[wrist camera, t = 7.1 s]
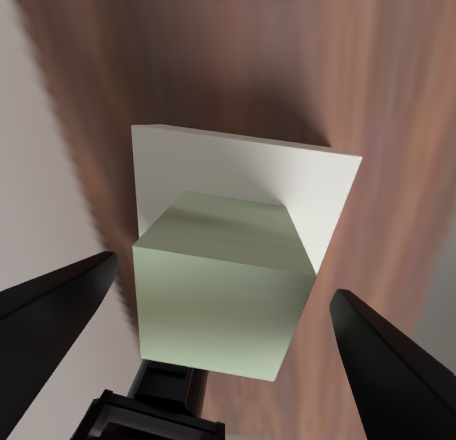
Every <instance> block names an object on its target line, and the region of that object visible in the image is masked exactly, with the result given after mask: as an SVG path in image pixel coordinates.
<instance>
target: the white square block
mask: <svg viewBox="0 0 456 440" xmlns="http://www.w3.org/2000/svg"><path fill="white" fill-rule="evenodd" d="M131 132H132V146H133V159H134V173H135V187H136V200H137V214H138V228H139V238H140V237H141V236H142V235H143V234H144V233H145V232H146V231H147V230H148V229H149V228H150V226H151V225H152V224H153V223H154V222H155V221H156V220H157V219H158V218H159V217H160V216H161V215H162V214H163V213H164V212H165V210H166V209H167V208H168V207H169V206H170V205H171V204H172V203H173V202H174V201H175V200H176V199H177V198H178V197H179V195H180V194H181V193H182V192H183V191H188V192H195V193H201V194H207V195H214V196H220V197H227V198H233V199H239V200H246V201H252V202H259V203H265V204H271V205H278V206H284V207H286V208H287V210H288V212H289V214H290V217H291V219H292V221H293V223H294V225H295V228H296V230H297V232H298V234H299V237H300V239H301V241H302V243H303V246H304V248H305V250H306V252H307V255H308V257H309V259H310V261H311V264H312V266H313V268H314V270H315V273H316V275H317V273H318V270H319V268H320V265H321V262H322V260H323V257H324V255H325V252H326V250H327V247H328V244H329V242H330V239H331V237H332V234H333V232H334V229H335V226H336V224H337V221H338V219H339V216H340V214H341V211H342V209H343V206H344V203H345V201H346V198H347V196H348V193H349V191H350V188H351V185H352V183H353V180H354V178H355V175H356V173H357V170H358V167H359V165H360V162H361V160H362V157H361V156H357V155H354V154H351V153H348V152H344V151H341V150H338V149H335V148H331V147H324V146H317V145H309V144H302V143H295V142H287V141H280V140H273V139H266V138H258V137H251V136H244V135H236V134H229V133H222V132H215V131H207V130H200V129H193V128H185V127H178V126H171V125H163V124H155V125H131Z"/></svg>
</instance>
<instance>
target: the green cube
mask: <svg viewBox="0 0 456 440" xmlns="http://www.w3.org/2000/svg"><path fill="white" fill-rule="evenodd" d="M132 248H133V261H134V273H135V286H136V299H137V312H138V325H139V337H140V350H141V358H142V359H148V360H154V361H159V362H165V363H171V364H176V365H182V366H188V367H194V368H199V369H205V370H211V371H216V372H222V373H228V374H233V375H239V376H245V377H250V378H256V379H262V380H268V381H273V382H274V381H275V378H276V376H277V373H278V371H279V368H280V366H281V363H282V361H283V359H284V356H285V354H286V351H287V349H288V346H289V344H290V341H291V339H292V336H293V334H294V332H295V329H296V327H297V324H298V322H299V319H300V317H301V314H302V312H303V309H304V307H305V304H306V302H307V300H308V297H309V295H310V292H311V290H312V287H313V285H314V282H315V280H316V277H317V275H316V273H315V270H314V268H313V266H312V264H311V261H310V259H309V257H308V255H307V252H306V250H305V248H304V246H303V243H302V241H301V239H300V237H299V234H298V232H297V230H296V228H295V225H294V223H293V221H292V219H291V217H290V214H289V212H288V210H287V208H286V207H284V206H278V205H271V204H265V203H259V202H252V201H246V200H239V199H233V198H227V197H220V196H214V195H207V194H201V193H195V192H188V191H183V192H182V193H181V194H180V195H179V197H178V198H177V199H176V200H175V201H174V202H173V203H172V204H171V205H170V206H169V207H168V208H167V209H166V210H165V212H164V213H163V214H162V215H161V216H160V217H159V218H158V219H157V220H156V221H155V222H154V223H153V224H152V225H151V226H150V228H149V229H148V230H147V231H146V232H145V233H144V234H143V235H142V236H141V237H140V238H139V239H138V240H137V241H136V243H135V244H134V245H133V246H132Z"/></svg>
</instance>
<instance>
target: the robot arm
mask: <svg viewBox="0 0 456 440" xmlns="http://www.w3.org/2000/svg"><path fill="white" fill-rule="evenodd" d="M118 270H119V268H118V260H117V254H116V253H115V252H109V251H104V252H101V253H99V254H97V255H94V256H91V257H89V258H86V259H83V260H81V261H78V262H76V263H73V264H70V265H68V266H65V267H63V268H60V269H57V270H55V271H52V272H50V273H47V274H45V275H42V276H39V277H37V278H34V279H32V280H29V281H26V282H24V283H21V284H19V285H16V286H13V287H11V288H8V289H6V290H3V291H1V292H0V440H6V439H7V437H8V436H9V435H10V433H11V432H12V430H13V429H14V427H15V426H16V425H17V423H18V422H19V420H20V419H21V418H22V416H23V415H24V413H25V412H26V410H27V409H28V408H29V406H30V405H31V403H32V402H33V400H34V399H35V398H36V396H37V395H38V393H39V392H40V390H41V389H42V388H43V386H44V385H45V383H46V382H47V380H48V379H49V378H50V376H51V375H52V373H53V372H54V370H55V369H56V368H57V366H58V365H59V363H60V362H61V360H62V359H63V358H64V356H65V355H66V353H67V352H68V351H69V349H70V348H71V346H72V345H73V343H74V342H75V341H76V339H77V338H78V336H79V335H80V333H81V332H82V331H83V329H84V328H85V326H86V325H87V323H88V322H89V321H90V319H91V318H92V316H93V315H94V313H95V312H96V310H97V309H98V307H99V306H100V304H101V302H102V301H103V299H104V297H105V295H106V293H107V292H108V290H109V288H110V286H111V285H112V283H113V281H114V279H115V277H116V276H117V274H118ZM330 313H331V317H332V322H333V327H334V332H335V336H336V341H337V345H338V349H339V352H340V356H341V359H342V362H343V365H344V368H345V371H346V374H347V377H348V381H349V384H350V387H351V390H352V393H353V396H354V399H355V402H356V405H357V409H358V412H359V415H360V418H361V421H362V424H363V427H364V430H365V434H366V437H367V440H456V376H454V374H453V372H451V371H450V370H449V369H447V368H446V367H445V366H444V365H443V364H441V363H440V362H439V361H437V360H436V359H435V358H434V357H432V356H431V355H430V354H429V353H427V352H426V351H425V350H423V349H422V348H421V347H420V346H419V345H417V344H416V343H415V342H414V341H412V340H411V339H410V338H409V337H407V336H406V335H405V334H404V333H402V332H401V331H400V330H399V329H397V328H396V327H395V326H394V325H392V324H391V323H390V322H388V321H387V320H386V319H385V318H383V317H382V316H381V315H380V314H378V313H377V312H376V311H375V310H373V309H372V308H371V307H370V306H368V305H367V304H366V303H365V302H363V301H362V300H361V299H360V298H358V297H357V296H356V295H355V294H353V293H352V292H351V291H349V290H346V289H337V290H336V292H335V294H334V296H333V298H332V300H331V302H330ZM208 371H209V370H205V369H199V368H194V367H188V366H182V365H176V364H171V363H165V362H159V361H154V360H148V359H143V361H142V363H141V365H140V367H139V370H138V372H137V374H136V377H135V379H134V381H133V383H132V386H131V388H130V390H129V392H128V395H127V397H125V396H121V395H118V394H114V393H113V391H110V390H107V389H105V390H104V392H103V393H102V395H101V397H100V398H98V399H94V400H93V402H92V403H91V405H90V407H89V409H88V410H87V412H86V414H85V416H84V418H83V419H82V421H81V423H80V424H79V426H78V428H77V429H76V431H75V433H74V434H73V435H72V437H71V438H70V440H225V423H221V422H218V421H217V422H216V423H215V422H212V421H208V420H205V419H201V414H202V408H203V402H204V396H205V390H206V383H207V377H208Z"/></svg>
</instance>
